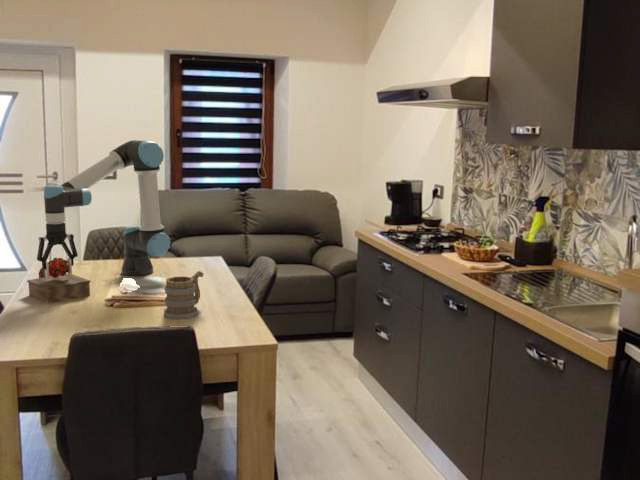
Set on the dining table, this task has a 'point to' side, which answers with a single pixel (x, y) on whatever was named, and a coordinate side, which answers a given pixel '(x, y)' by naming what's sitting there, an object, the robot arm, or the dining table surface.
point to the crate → (59, 288)
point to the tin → (42, 273)
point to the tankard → (182, 296)
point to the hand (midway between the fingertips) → (58, 275)
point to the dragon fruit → (58, 267)
